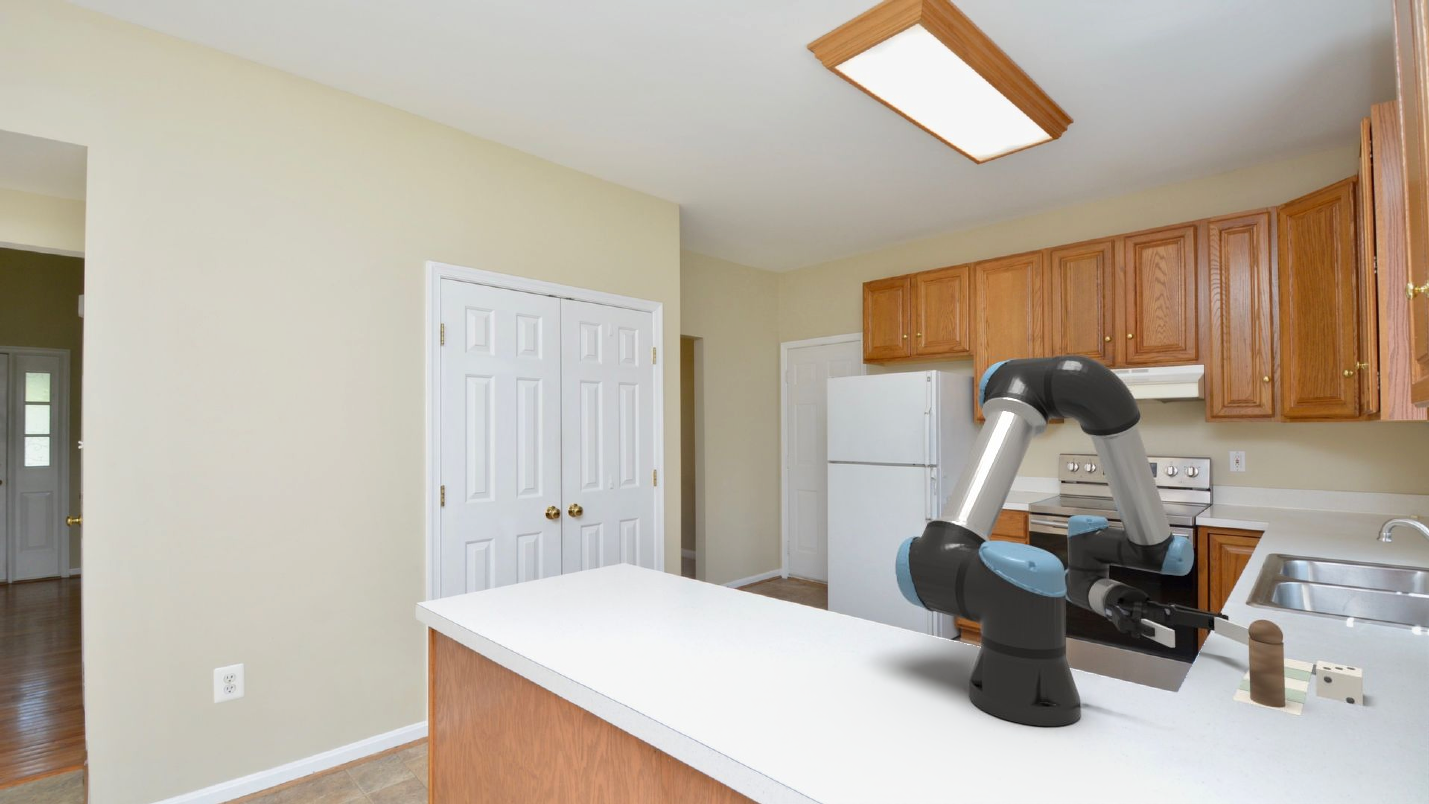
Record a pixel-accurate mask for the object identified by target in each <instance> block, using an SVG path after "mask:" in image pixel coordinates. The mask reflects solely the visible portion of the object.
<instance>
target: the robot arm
mask: <svg viewBox="0 0 1429 804" xmlns="http://www.w3.org/2000/svg"><path fill="white" fill-rule="evenodd" d="M978 390H979V391H980V392H979V393H978V395H977V396H978V404H979V407H980V410H981V414H982V416H983V417H984V420H985V421H984V423H983V426H982V428H981V430H980V432H979V434H978V436H977V438H976V441H975V443H974V445H973V448H972V449H971V452H970V453H969V456H968V458H967V460H966V463H965V464H964V466H963V468H962V471H961V473H960V474H959V477H958V479H957V481H956V482H955V486H954V488H953V490H952V492H951V494H950V496H949V498H948V501H947V503H946V505H945V507H944V510H943V511H942V513H941V515H940V517H939V518H935V519H931V520H930V521H928V523H927V524H926V527H925V529H924V530H923V533H922V535H921V536H919V535H918V536H916V535H915V536H914V535H913V536H910V537H909V538H906V539H905V540H904V541H902V543H901V544H900V546H899V547H898V551H897V554H896V557H895V564H894V565H895V566H894V571H895V572H894V573H895V577H896V583H897V586H898V589H899V591H900V592H901V595H902V596H903V597H904V598H905V599H906V601H908V602H909V603H910V604H912V605H914V606H916V607H920V608H922V609H925V610H926V611H928V612H935V613H939V614H943V615H947V616H951V617H955V618H958V619H962V620H965V621H969V622H974V623H978V624H980V649H979V651H978V655H977V658H976V661H975V663H974V666H973V668H972V672H971V675H970V677H969V681H968V682H969V683H968V685H969V686H968V687H969V688H968V690H969V693H968V694H969V695H968V697H969V699H970V701H971V702H972V703H973V704H974V705H975V706H976V707H978V708H979V710H982V711H984V712H985V713H988V714H990V715H993V716H995V717H997V718H1000V719H1004V720H1007V721H1010V722H1015V723H1020V724H1023V725H1024V724H1025V725H1031V726H1039V727H1041V726H1043V727H1055V726H1056V727H1058V726H1066V725H1070V724H1072V723H1075V722H1077V721H1078V720H1080V717H1081V715H1082V713H1081V712H1082V710H1081V709H1082V708H1081V704H1082V703H1081V696H1080V694H1079V690H1078V689H1077V685H1076V682H1075V679H1074V676H1073V674H1072V670H1071V669H1070V666H1069V662H1068V660H1067V617H1066V616H1067V610H1066V609H1067V601H1068V602H1070V603H1072V604H1074V605H1075V606H1077V607H1079V608H1082V609H1085V610H1088V611H1090V612H1093V613H1095V614H1097V615H1099V616H1102V617H1104V618H1106V619H1107V620H1108V621H1109V622H1112V623H1113V625H1114V626H1115V627H1116V629H1117V630H1118V632H1120V633H1122V634H1127V633H1128V631H1131V637H1132V638H1134V639H1140V638H1141V636H1143V637H1146V638H1148V639H1151V640H1153V641H1155V642H1157V643H1160V644H1161V645H1163V646H1166V647H1169V648H1175V647H1176V633H1175V630H1174V629H1172V628H1168V627H1167V626H1171V627H1174V626H1175V625H1179V626H1184V627H1191V628H1198V629H1203V630H1208V631H1214V634H1216V635H1219V636H1222V637H1225V638H1227V639H1230V640H1233V641H1235V642H1238V643H1241V644H1243V645H1246V646H1249V639H1248V638H1249V637H1250V636H1249V633H1248V629H1249V626H1245V625H1243V624H1239V623H1236V622H1233V621H1231V620H1229V619H1230V617H1229V615H1227V614H1224V613H1223V612H1221V611H1217V613H1216V612H1212V611H1207V610H1204V609H1197V608H1192V607H1188V606H1183V605H1181V604H1177V603H1174V602H1167V604H1163V603H1159V602H1158V601H1153V600H1152V599H1151V598H1150V597H1149V596H1148V594H1147V593H1146V592H1145V591H1144V590H1142V589H1140V588H1137V587H1134V586H1131V585H1128V584H1125V583H1123V582H1119V581H1117V580H1114V579H1112V578H1111V579H1110V577H1109V575H1110V573H1109V572H1110V566H1115V567H1121V568H1128V569H1134V570H1140V571H1145V572H1150V573H1157V574H1160V575H1172V576H1181V577H1183V576H1185V575H1188V574H1189V573H1190V572H1191V570H1192V567H1193V565H1194V559H1195V553H1194V552H1195V551H1194V546H1193V544H1192V541H1190V540H1189V538H1188V537H1186V536H1181V535H1178V534H1175V535H1174V534H1173V532H1172V529H1171V527H1170V522H1169V520H1168V516H1167V514H1166V510H1165V508H1164V505H1163V502H1162V499H1161V496H1160V495H1161V494H1160V491H1159V489H1158V486H1157V483H1156V480H1155V478H1154V477H1155V476H1154V474H1153V471H1152V467H1151V465H1150V461H1149V457H1148V455H1147V453H1146V450H1145V446H1144V443H1143V440H1142V436H1141V433H1140V431H1139V427H1138V425H1139V424H1140V422H1141V419H1142V416H1141V411H1140V409H1139V406H1138V403H1137V401H1136V399H1135V397H1134V395H1133V394H1132V391H1131V390H1130V389H1129V388H1128V386H1127V385H1126V384H1125V382H1124V381H1123V380H1122V379H1121V378H1120V377H1119V376H1118V375H1117V374H1116V373H1115V372H1113V371H1112V370H1111V369H1110V368H1109V367H1107V366H1106V365H1104V364H1102V363H1101V362H1099V361H1097V360H1095V359H1093V358H1091V357H1087V356H1084V355H1079V354H1067V355H1066V354H1065V355H1060V356H1059V355H1058V356H1045V357H1044V356H1043V357H1031V358H1030V357H1029V358H1011V359H1008V360H1003V361H999V362H995V363H994V364H992V365H990V366H989V367H988V368H987V369H986V370H985V372H984V373H983V375H982V376H981V379H980V381H979V385H978ZM1051 419H1074V420H1075V421H1077V422H1078V423H1079V426H1080V429H1081V431H1082V432H1083V433H1084V434H1085V435H1088V436H1090V437H1091V440H1092V443H1093V447H1094V449H1095V451H1096V455H1097V457H1098V459H1099V463H1100V467H1101V468H1102V469H1101V470H1102V471H1103V474H1104V476H1105V480H1106V482H1107V485H1108V488H1109V490H1110V494H1111V495H1112V499H1113V502H1114V504H1115V507H1116V510H1117V513H1118V515H1119V518H1120V521H1121V524H1122V527H1123V529H1122V528H1116V527H1115V528H1114V527H1110V525H1109V521H1108V519H1107V518H1106V517H1104V516H1099V515H1087V514H1078V515H1072V516H1070V517H1069V519H1068V522H1067V535H1066V538H1067V553H1068V554H1067V557H1068V558H1067V559H1068V560H1067V561H1068V564H1067V565H1068V566H1067V569H1065V567H1064V564H1063V562H1062V561H1061V560H1060V558H1058V557H1057V556H1056V555H1055V554H1053V553H1051V552H1049V551H1048V550H1045V549H1042V548H1039V547H1036V546H1032V545H1029V544H1025V543H1020V542H1010V541H1006V540H990V538H991V536H992V534H993V531H994V528H995V527H996V524H997V522H998V519H999V517H1000V515H1001V513H1002V510H1003V507H1004V505H1005V503H1006V502H1007V501H1006V500H1007V499H1008V496H1009V493H1010V491H1011V488H1012V487H1013V484H1014V481H1015V479H1016V477H1017V474H1018V472H1019V469H1020V467H1021V465H1022V462H1023V460H1024V458H1025V456H1026V453H1027V451H1028V449H1029V445H1030V443H1031V441H1032V439H1033V438H1037V437H1040V436H1041V435H1043V433H1044V432H1045V431H1046V429H1047V426H1048V425H1049V421H1051ZM1167 616H1168V617H1169V620H1167ZM1164 625H1165V626H1164Z"/></svg>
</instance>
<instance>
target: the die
mask: <svg viewBox="0 0 1429 804" xmlns="http://www.w3.org/2000/svg"><path fill="white" fill-rule="evenodd" d="M1316 665H1317V666H1316V675H1315V676H1316V677H1315V678H1316V679H1315V680H1316V683H1315V685H1316V686H1315V687H1316V697H1320V698H1324V699H1330V700H1334V701H1338V702H1343V703H1348V704H1351V705H1356V706H1361V707H1363V706H1364V687H1363V686H1364V683H1363V679H1364V678H1363V668H1359V667H1356V666H1355V667H1354V666H1349V665H1345V664H1344V665H1343V664H1338V663H1332V662H1328V661H1323V660H1322V661H1321V660H1317V662H1316Z"/></svg>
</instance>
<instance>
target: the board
mask: <svg viewBox="0 0 1429 804" xmlns="http://www.w3.org/2000/svg"><path fill="white" fill-rule="evenodd" d="M1316 666H1317V664H1314V663H1313V662H1312V663H1311V662H1306V661H1302V660H1296V659H1291V658H1285V657H1284V677H1285V707H1270V706H1265V705H1261V704H1258V703H1256V702H1254V701H1252V700H1251V699H1250V672H1249V669H1247V672H1246V673H1245V675H1244V677H1243V679H1242V681H1241V683H1240V684H1239V686H1238V688H1237V690H1236V691H1235V694H1234V695H1233V698H1232V701H1235V702H1239V703H1244V704H1249V705H1251V706H1255V707H1256V706H1257V707H1262V708H1266V709H1269V710H1273V711H1278V712H1281V713H1287V714H1290V715H1295V716H1298V717H1301V715H1302V711H1303V707H1304V703H1305V700H1306V699H1305V698H1306V695H1307V691H1308V689H1309V688H1308V687H1309V684H1310V680H1311V676H1312V675H1313V676H1316Z"/></svg>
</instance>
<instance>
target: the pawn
mask: <svg viewBox="0 0 1429 804" xmlns="http://www.w3.org/2000/svg"><path fill="white" fill-rule="evenodd" d="M1248 628H1249V629H1248V633H1249V636H1250V637H1249V638H1248V639H1249V645H1248V664H1249V665H1248V670H1249V672H1250V691H1249V692H1250V699H1251V700H1252V701H1254V702H1256V703H1258V704H1261V705H1265V706H1270V707H1285V677H1284V658H1285V651H1284V650H1285V649H1284V646H1285V645H1284V642H1283V640H1284V633H1283V631H1282V629H1281V627H1279V626H1278V625H1277V624H1276V623H1274V622H1272V621H1270V620H1267V619H1257V620H1254V621H1253V622H1251V623H1250V624H1249V626H1248Z"/></svg>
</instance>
